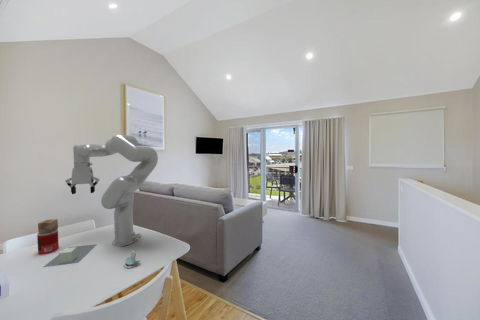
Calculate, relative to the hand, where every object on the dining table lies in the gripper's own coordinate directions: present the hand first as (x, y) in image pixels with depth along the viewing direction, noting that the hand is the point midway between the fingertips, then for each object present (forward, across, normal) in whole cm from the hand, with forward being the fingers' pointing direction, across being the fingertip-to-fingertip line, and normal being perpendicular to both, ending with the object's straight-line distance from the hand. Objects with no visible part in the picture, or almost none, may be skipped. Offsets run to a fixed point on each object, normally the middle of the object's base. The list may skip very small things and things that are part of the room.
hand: (83, 193), depth 122 cm
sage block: (+28, -5, +28) cm, 40 cm away
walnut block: (+17, +11, +14) cm, 24 cm away
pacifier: (+29, -35, +40) cm, 60 cm away
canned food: (+28, +11, +13) cm, 33 cm away
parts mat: (+28, -4, +22) cm, 36 cm away
